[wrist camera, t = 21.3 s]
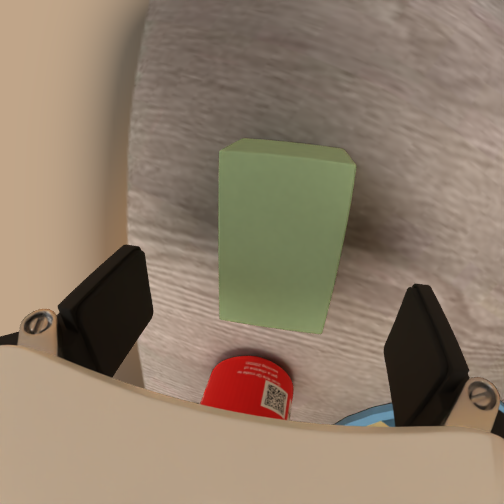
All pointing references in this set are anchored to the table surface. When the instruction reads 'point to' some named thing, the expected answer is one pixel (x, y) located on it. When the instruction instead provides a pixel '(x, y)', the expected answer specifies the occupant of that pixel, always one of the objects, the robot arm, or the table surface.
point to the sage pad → (281, 231)
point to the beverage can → (250, 388)
